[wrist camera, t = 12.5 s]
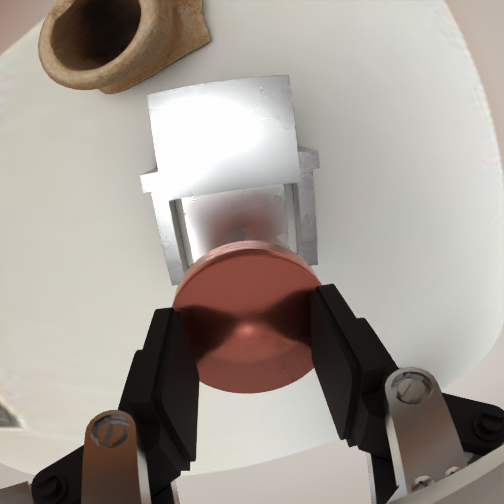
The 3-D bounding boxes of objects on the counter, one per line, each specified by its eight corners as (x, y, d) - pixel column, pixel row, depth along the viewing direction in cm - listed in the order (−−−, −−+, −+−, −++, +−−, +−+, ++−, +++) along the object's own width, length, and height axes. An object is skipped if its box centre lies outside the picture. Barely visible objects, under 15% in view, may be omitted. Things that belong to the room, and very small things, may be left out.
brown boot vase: (113, 122, 29) (38, 120, 15) (76, 44, 24) (1, 9, 10) (238, 55, 27) (248, -2, 13) (192, -21, 23) (177, -97, 9)
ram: (270, 167, 21) (335, 217, 9) (280, 263, 24) (331, 393, 11) (190, 178, 21) (140, 245, 8) (207, 274, 23) (196, 413, 11)
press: (298, 105, 30) (417, 69, 9) (310, 254, 36) (395, 388, 16) (147, 126, 29) (23, 124, 9) (175, 273, 36) (134, 427, 15)
